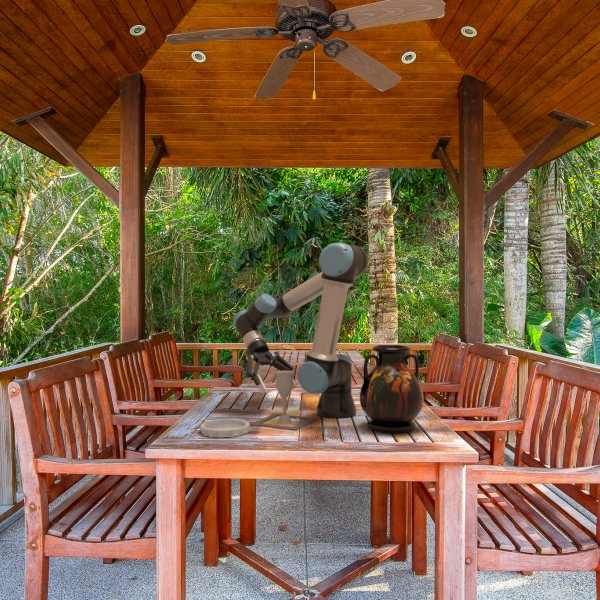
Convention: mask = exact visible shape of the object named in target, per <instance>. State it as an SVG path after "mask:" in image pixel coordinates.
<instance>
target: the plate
mask: <svg viewBox="0 0 600 600" xmlns="http://www.w3.org/2000/svg"><path fill="white" fill-rule="evenodd" d="M199 427H200V434H201V433H202V434H203V435H206V436H211V437H233V438H235V437H234V436H239V437H241V436H240V435H243V436H245V435H247V434H249V433H248V432H250V421H247V420H245V419H241V418H218V419H217V418H216V419H211V420H207V421H205V422H202V423H201V424H200V426H199ZM246 433H247V434H246ZM202 434H201V435H202ZM244 434H245V435H244ZM203 435H202V436H203ZM206 436H205V437H206ZM211 437H210V438H211Z"/></svg>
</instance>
